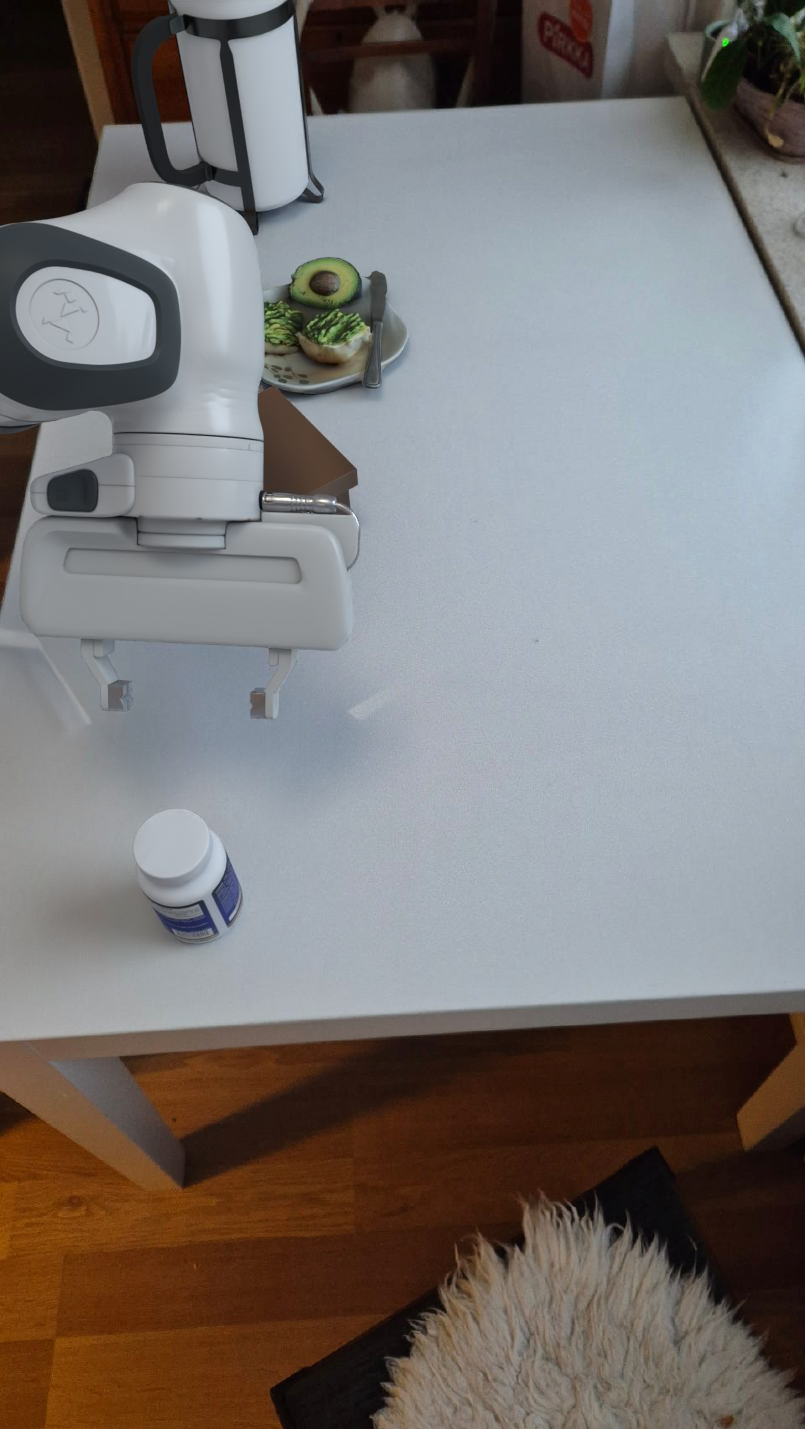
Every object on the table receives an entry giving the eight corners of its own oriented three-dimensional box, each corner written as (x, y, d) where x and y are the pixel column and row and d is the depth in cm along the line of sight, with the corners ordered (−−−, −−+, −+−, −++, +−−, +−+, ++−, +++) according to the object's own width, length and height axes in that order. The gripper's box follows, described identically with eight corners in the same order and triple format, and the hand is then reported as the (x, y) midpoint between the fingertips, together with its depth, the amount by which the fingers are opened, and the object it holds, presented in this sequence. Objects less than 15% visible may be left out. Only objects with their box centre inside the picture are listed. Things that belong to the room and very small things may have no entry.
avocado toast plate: (451, 377, 99) (452, 337, 95) (281, 432, 95) (275, 392, 91) (371, 272, 108) (369, 231, 105) (214, 318, 105) (206, 278, 101)
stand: (233, 597, 84) (218, 539, 78) (159, 507, 90) (141, 446, 84) (362, 529, 88) (357, 469, 82) (283, 446, 94) (274, 385, 88)
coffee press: (204, 161, 122) (146, -155, 96) (335, 168, 120) (310, -151, 95) (166, 244, 112) (90, -81, 87) (307, 253, 111) (271, -76, 86)
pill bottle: (209, 852, 71) (180, 782, 63) (261, 905, 69) (238, 841, 61) (143, 906, 69) (104, 841, 61) (195, 963, 67) (161, 904, 58)
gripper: (367, 496, 63) (360, 712, 66) (47, 483, 64) (54, 696, 67) (355, 495, 57) (348, 734, 60) (2, 481, 58) (12, 715, 61)
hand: (190, 714), depth 63 cm, fingers open, 8 cm apart
